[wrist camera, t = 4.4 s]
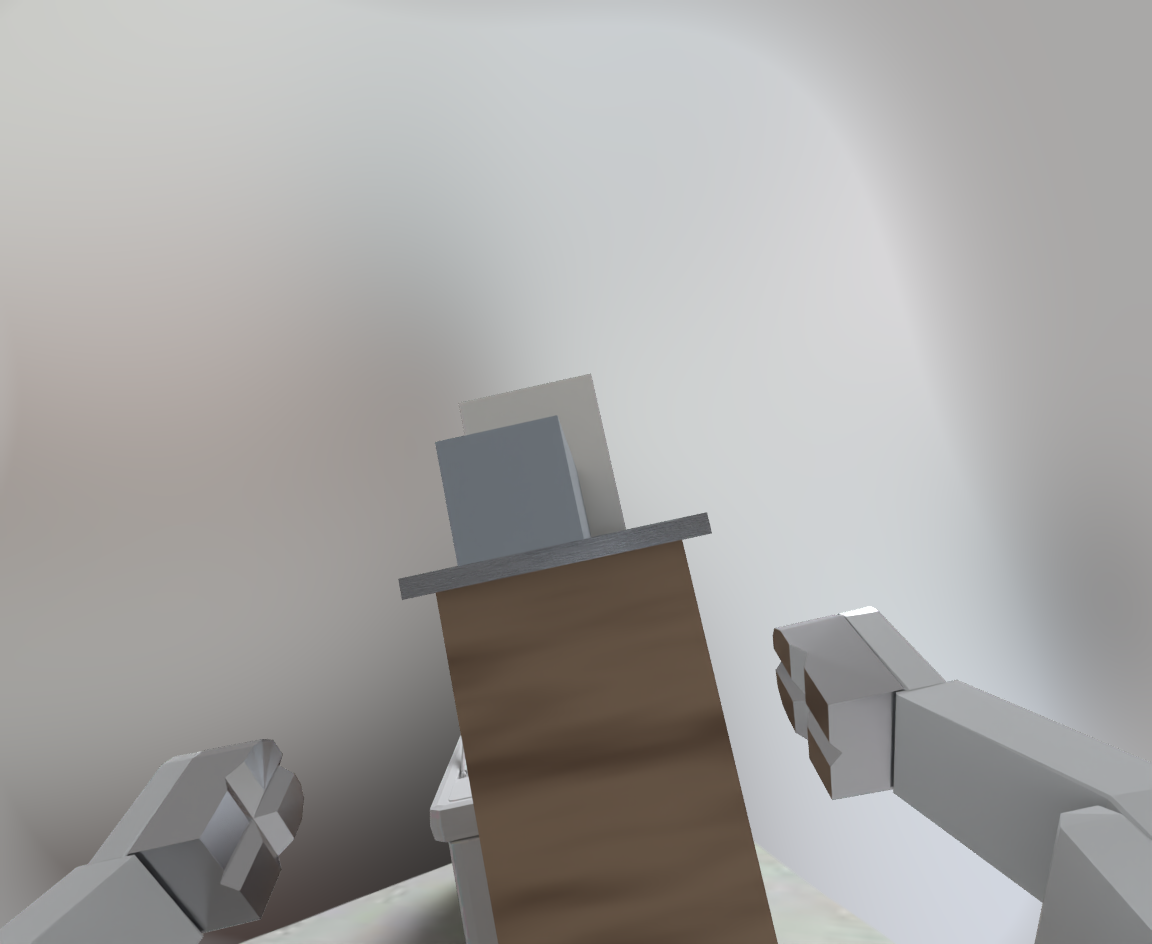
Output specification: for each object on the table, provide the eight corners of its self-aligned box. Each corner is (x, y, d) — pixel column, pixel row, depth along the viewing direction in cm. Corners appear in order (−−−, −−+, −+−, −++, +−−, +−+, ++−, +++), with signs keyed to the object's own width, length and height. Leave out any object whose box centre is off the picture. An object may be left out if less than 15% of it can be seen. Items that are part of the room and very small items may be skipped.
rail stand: (927, 1333, 17) (722, 508, 20) (516, 1408, 17) (380, 582, 20) (797, 1016, 28) (679, 518, 31) (549, 1065, 28) (458, 565, 31)
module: (647, 525, 12) (583, 246, 13) (395, 579, 13) (348, 300, 13) (620, 530, 30) (593, 410, 31) (514, 553, 30) (490, 432, 31)
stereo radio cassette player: (620, 1033, 29) (544, 655, 31) (467, 1081, 28) (401, 689, 30) (585, 831, 49) (541, 613, 52) (497, 855, 49) (456, 632, 51)
